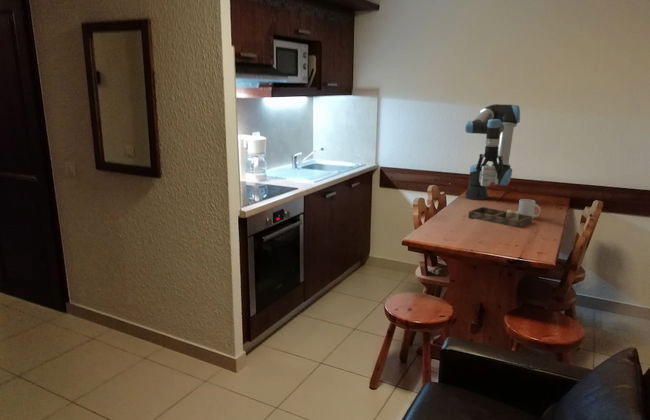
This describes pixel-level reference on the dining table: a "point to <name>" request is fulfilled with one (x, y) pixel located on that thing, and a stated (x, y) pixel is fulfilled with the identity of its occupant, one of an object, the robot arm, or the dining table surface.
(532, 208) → the mug
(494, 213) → the storage box
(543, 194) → the dining table surface
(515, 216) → the beech block
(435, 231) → the dining table surface
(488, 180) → the ink box
